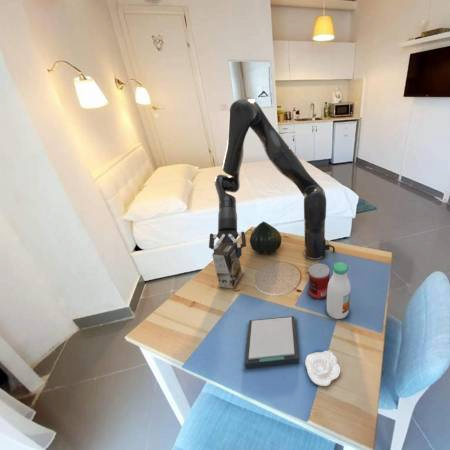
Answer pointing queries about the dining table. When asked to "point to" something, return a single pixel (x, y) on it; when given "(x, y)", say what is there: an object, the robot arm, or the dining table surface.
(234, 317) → the dining table surface
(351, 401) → the dining table surface
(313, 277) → the canned food
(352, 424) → the dining table surface
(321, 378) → the rose
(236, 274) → the coffee box
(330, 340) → the dining table surface
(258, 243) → the squash
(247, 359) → the scale
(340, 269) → the milk bottle
